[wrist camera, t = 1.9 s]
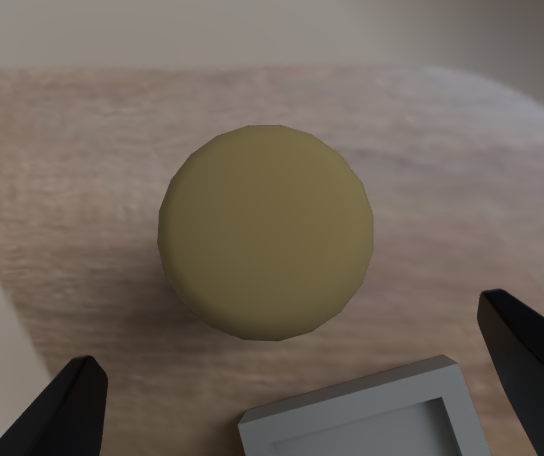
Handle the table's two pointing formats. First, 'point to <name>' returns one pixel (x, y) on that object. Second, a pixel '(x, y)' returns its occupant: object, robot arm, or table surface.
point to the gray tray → (373, 417)
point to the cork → (265, 233)
